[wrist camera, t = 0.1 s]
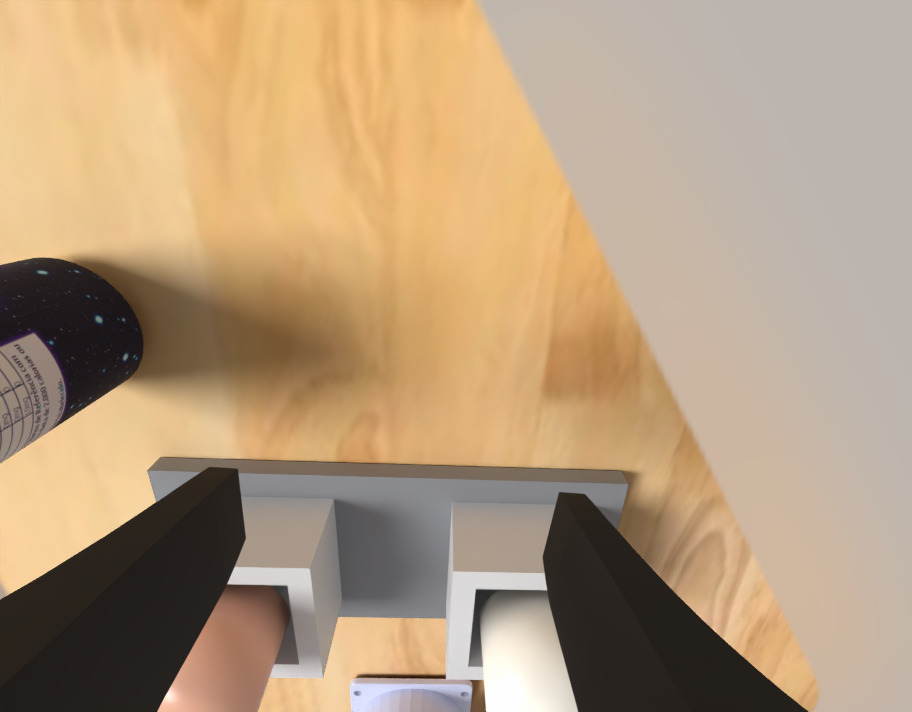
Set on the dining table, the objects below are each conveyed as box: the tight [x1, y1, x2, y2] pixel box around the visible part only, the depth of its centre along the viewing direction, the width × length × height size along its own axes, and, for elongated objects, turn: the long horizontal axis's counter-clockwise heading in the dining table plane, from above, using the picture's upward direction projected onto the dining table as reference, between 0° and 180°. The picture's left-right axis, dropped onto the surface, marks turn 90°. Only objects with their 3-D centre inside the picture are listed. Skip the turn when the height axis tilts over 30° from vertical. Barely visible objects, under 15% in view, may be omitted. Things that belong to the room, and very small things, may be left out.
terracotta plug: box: [157, 584, 290, 712], centre depth 17 cm, size 4×4×4 cm
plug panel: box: [147, 457, 629, 680], centre depth 21 cm, size 10×23×5 cm, turn 87°
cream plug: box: [480, 589, 578, 712], centre depth 18 cm, size 4×4×4 cm
